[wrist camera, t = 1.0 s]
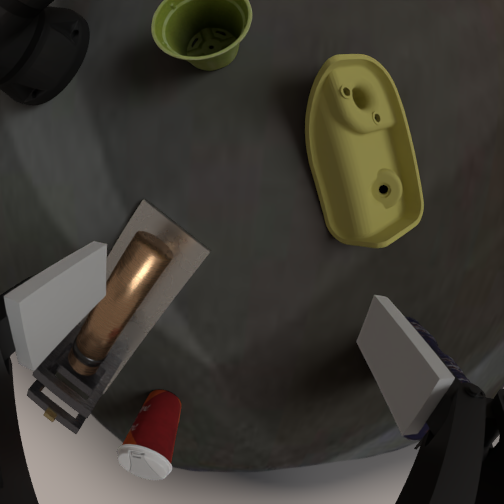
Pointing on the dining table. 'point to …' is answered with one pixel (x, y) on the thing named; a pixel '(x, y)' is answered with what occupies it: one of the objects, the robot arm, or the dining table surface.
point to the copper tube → (119, 301)
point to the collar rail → (152, 307)
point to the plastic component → (362, 153)
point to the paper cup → (152, 437)
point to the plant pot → (201, 30)
